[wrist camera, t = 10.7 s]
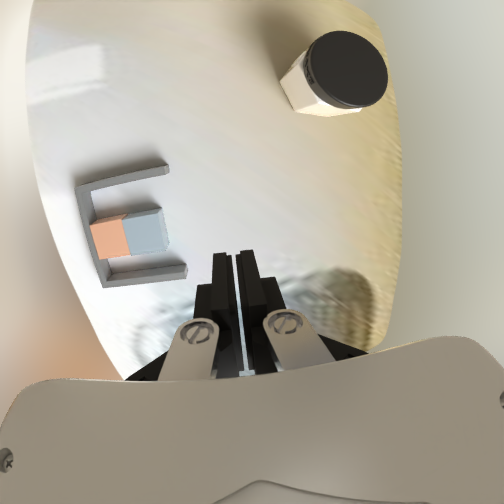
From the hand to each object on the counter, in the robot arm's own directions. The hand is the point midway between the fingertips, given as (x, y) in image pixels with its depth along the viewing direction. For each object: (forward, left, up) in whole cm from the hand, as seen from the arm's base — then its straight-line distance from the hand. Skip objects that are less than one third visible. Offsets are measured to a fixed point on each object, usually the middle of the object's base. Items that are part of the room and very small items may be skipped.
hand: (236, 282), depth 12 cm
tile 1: (+4, -11, -25) cm, 28 cm away
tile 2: (+4, -16, -25) cm, 30 cm away
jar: (-13, +12, -25) cm, 31 cm away
